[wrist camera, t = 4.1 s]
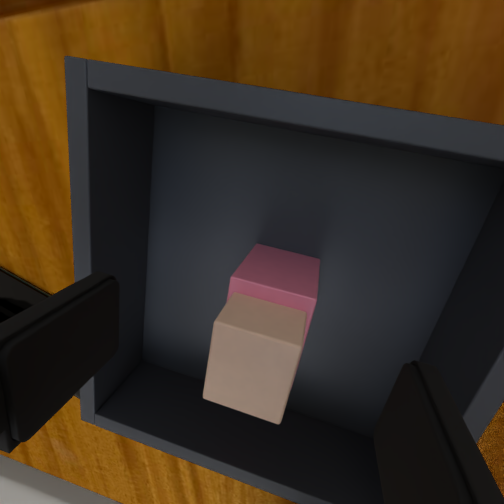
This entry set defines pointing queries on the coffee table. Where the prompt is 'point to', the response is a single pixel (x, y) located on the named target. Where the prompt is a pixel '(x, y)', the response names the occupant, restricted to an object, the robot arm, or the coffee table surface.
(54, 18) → the coffee table surface
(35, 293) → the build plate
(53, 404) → the robot arm
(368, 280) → the basin
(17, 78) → the coffee table surface
